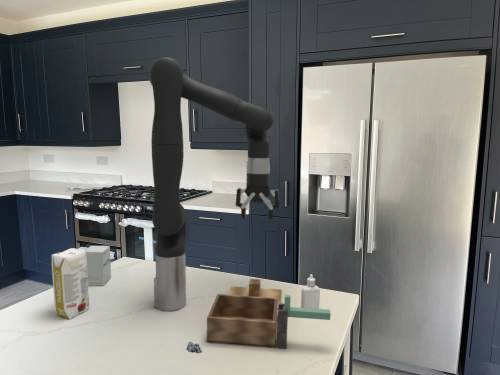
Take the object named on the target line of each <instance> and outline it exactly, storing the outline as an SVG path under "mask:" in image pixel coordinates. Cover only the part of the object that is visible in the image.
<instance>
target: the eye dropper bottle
mask: <svg viewBox="0 0 500 375" xmlns="http://www.w3.org/2000/svg"><path fill="white" fill-rule="evenodd" d="M320 289H321V288H320V287H319V286H318V285H316V278H314V277H313V274H309V277H308V278H307V279H306V285H304V286H302V288H301V293H300V308H313V309H320V298H321V297H320V295H321V294H320V292H321V290H320Z"/></svg>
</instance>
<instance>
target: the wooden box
mask: <svg viewBox="0 0 500 375" xmlns="http://www.w3.org/2000/svg"><path fill="white" fill-rule="evenodd" d="M277 303H278V298H269V297H254V296H239V295H228V294H223V293H222V294H221V293H218V294H217V295H216V297H215V299H214V301H213V303H212V306H211V308H210V310H209V312H208V315H207V317H206V342H207V343H213V344H223V345H224V344H225V345H234V346H235V345H236V346H247V347H262V348H272V349H275V348H276V349H285V350H287V348H288V347H287V343H288V321H289V320H288V318H289V317H288V310H283V306H284V303H282V302H281V303H279V304H278V310H277ZM276 326H277V327H276Z"/></svg>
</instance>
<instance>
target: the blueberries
mask: <svg viewBox="0 0 500 375" xmlns="http://www.w3.org/2000/svg"><path fill="white" fill-rule="evenodd" d="M185 350H186V351H187V352H189V353H192V354H193V353H195V354H201V353H203V350H202V349H201V346H200V344H199V343H193V342H192V341H189V342H188V343H187V345H186V349H185Z"/></svg>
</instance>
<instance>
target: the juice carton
mask: <svg viewBox="0 0 500 375" xmlns="http://www.w3.org/2000/svg"><path fill="white" fill-rule="evenodd" d="M51 276H52V286H53V287H52V288H53V298H54V299H53V300H54V310H55V311H54V312H55V314H56V316H59V317H61V318H62V317H63V318H66V319H69V320H71V319H73V318H75V317H77V316H79V315H80V314H83V313H84V312H87V311H88V310H89V309H90V294H89V291H90V290H89V286H88V273H87V257H86V251H85V250H83V249H79V248H73V247H70V248H68V249H65V250H64V251H62V252H56V253H53V254H51Z"/></svg>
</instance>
